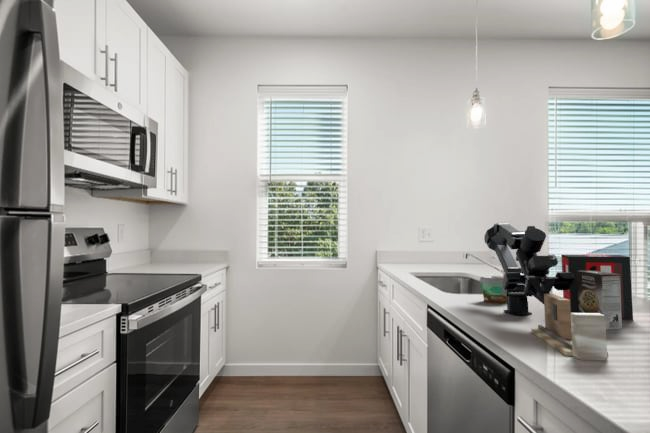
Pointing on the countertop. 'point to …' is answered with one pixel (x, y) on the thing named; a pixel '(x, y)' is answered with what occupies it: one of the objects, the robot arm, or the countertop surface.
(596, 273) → the coffee box
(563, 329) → the door
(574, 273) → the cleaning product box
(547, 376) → the countertop surface
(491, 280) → the food container
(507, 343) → the countertop surface
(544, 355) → the countertop surface
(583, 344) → the track
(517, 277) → the robot arm
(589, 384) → the countertop surface
